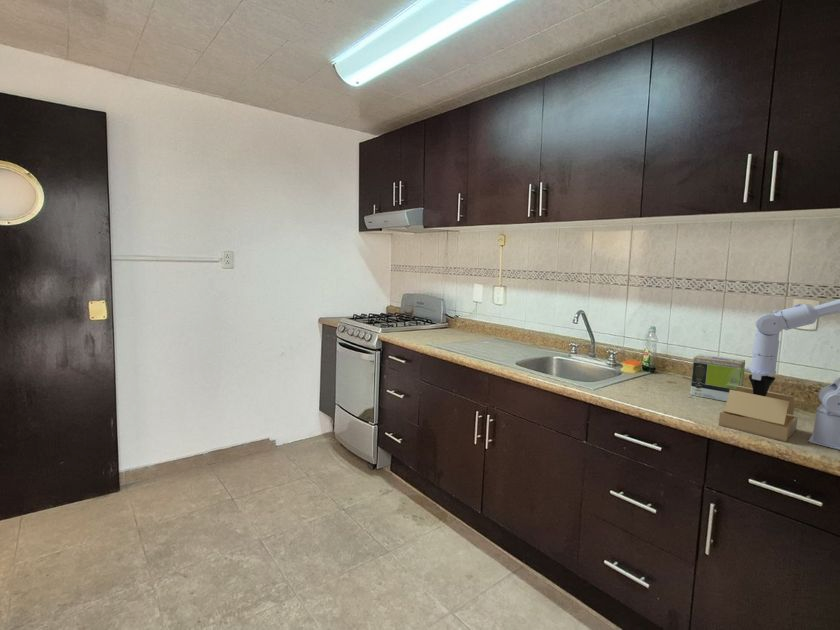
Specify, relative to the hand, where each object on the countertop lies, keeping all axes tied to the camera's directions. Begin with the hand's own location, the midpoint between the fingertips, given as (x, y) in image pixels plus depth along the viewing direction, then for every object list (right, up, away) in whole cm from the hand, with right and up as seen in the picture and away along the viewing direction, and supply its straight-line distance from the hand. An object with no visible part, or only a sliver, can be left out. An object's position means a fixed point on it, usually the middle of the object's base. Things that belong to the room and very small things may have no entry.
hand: (759, 400), depth 130 cm
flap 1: (-2, -1, -2) cm, 4 cm away
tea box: (+10, -6, +34) cm, 36 cm away
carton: (+1, -9, +2) cm, 9 cm away
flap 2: (+5, -1, +5) cm, 7 cm away
